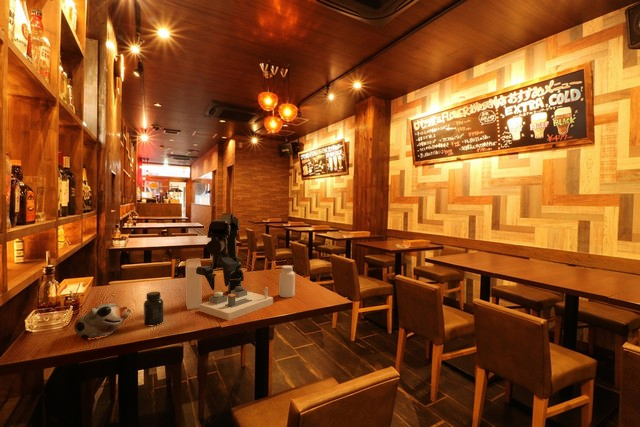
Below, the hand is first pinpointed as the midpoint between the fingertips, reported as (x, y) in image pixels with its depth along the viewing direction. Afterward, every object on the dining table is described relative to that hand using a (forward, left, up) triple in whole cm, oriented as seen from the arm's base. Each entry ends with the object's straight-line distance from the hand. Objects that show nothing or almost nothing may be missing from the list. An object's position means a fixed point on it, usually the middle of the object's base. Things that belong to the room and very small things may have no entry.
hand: (219, 288), depth 135 cm
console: (-3, +12, -12) cm, 17 cm away
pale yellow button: (-9, +6, -7) cm, 13 cm away
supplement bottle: (-15, -20, -12) cm, 28 cm away
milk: (-20, +1, -12) cm, 24 cm away
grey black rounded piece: (-20, -35, -12) cm, 43 cm away
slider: (0, +6, -9) cm, 11 cm away
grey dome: (-9, +18, -7) cm, 21 cm away
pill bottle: (+3, +39, -12) cm, 41 cm away
